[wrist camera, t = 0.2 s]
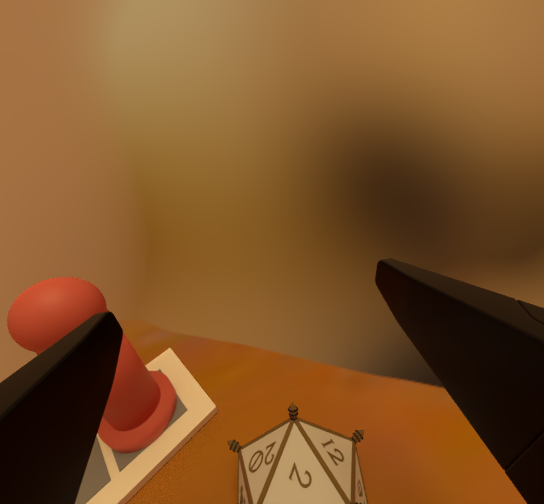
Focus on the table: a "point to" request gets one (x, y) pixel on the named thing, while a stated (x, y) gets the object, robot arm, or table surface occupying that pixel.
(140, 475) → the board
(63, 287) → the pawn
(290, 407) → the game die
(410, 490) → the table surface
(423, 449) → the table surface
